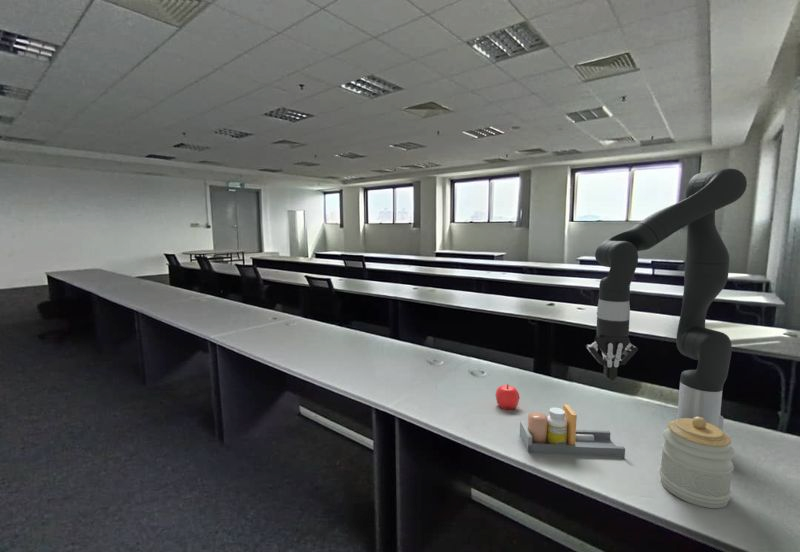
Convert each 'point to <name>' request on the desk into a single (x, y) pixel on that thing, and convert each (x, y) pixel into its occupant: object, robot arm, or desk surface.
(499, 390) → the apple
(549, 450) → the tray
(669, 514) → the desk surface
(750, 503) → the desk surface
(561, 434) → the supplement bottle
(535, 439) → the terracotta jar
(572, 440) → the pusher plate
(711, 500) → the jar
